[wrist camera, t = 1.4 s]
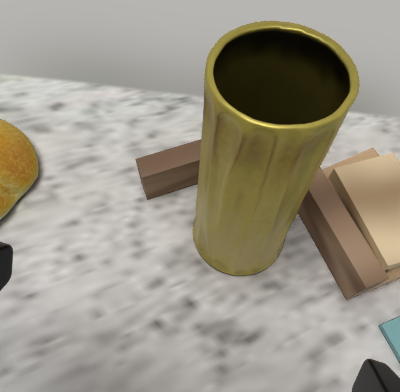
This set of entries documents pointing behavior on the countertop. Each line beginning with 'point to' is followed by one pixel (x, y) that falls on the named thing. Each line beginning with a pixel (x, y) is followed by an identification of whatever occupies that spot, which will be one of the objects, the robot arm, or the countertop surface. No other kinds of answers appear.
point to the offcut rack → (322, 211)
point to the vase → (265, 137)
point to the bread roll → (15, 166)
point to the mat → (392, 335)
